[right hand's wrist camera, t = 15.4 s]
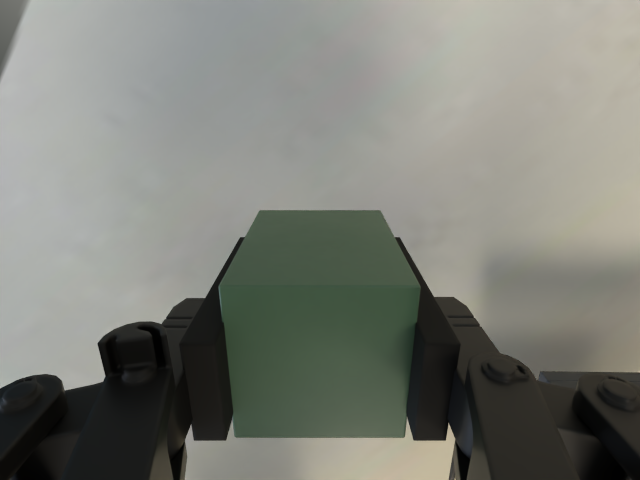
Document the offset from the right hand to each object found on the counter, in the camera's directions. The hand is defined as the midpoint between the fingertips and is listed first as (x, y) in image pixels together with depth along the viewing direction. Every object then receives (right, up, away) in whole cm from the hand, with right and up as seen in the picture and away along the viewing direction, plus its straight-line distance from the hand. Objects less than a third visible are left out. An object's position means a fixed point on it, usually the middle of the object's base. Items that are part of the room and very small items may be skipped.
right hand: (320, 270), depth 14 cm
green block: (0, 0, 0) cm, 0 cm away
